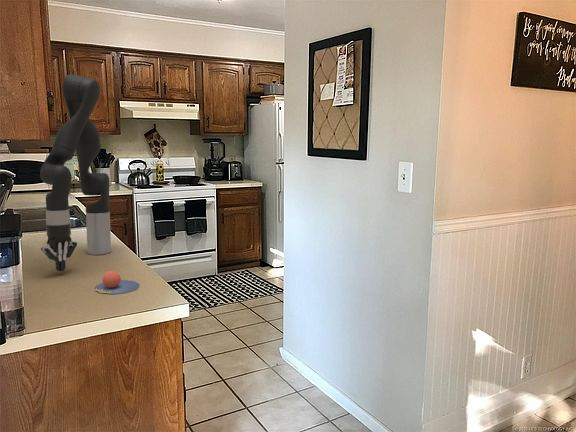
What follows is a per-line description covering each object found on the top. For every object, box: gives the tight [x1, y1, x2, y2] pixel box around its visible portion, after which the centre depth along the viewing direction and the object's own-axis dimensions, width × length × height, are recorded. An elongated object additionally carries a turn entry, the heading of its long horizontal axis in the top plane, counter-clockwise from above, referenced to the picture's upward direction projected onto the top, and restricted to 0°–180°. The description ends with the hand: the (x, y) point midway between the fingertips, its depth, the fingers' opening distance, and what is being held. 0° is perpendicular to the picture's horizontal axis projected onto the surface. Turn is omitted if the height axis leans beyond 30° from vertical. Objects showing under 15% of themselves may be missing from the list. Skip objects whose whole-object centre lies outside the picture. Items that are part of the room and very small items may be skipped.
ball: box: [102, 270, 122, 288], centre depth 155 cm, size 6×6×6 cm
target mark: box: [93, 279, 141, 295], centre depth 156 cm, size 14×14×1 cm
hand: (61, 270), depth 168 cm, fingers closed
